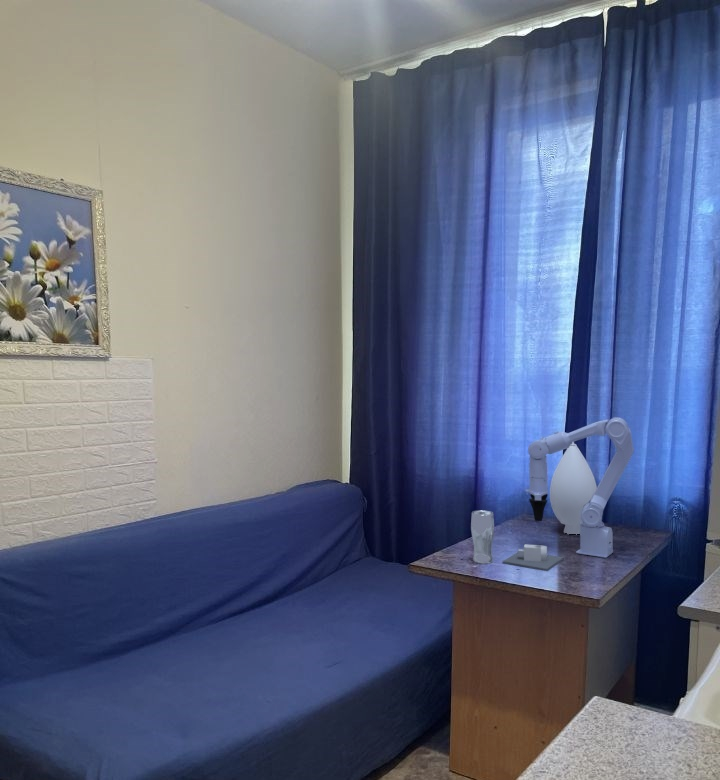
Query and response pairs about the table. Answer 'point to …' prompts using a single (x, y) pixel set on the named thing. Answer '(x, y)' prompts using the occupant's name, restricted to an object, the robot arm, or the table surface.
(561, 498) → the lamp
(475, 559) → the beer glass
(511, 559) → the mat
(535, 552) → the connector
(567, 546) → the table surface
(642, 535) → the table surface
